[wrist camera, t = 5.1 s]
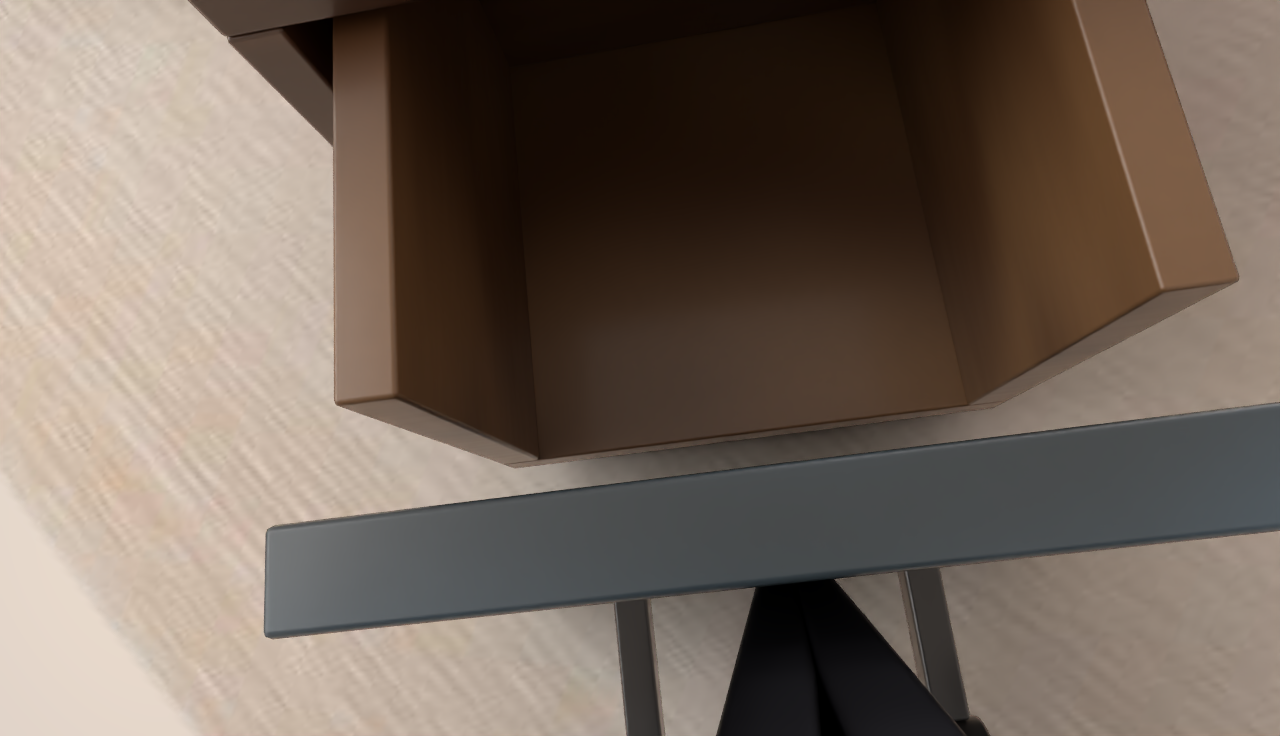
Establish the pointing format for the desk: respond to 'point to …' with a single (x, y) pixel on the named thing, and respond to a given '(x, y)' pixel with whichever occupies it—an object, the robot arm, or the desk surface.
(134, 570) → the desk surface
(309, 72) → the cabinet
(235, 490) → the desk surface
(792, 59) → the drawer
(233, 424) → the desk surface
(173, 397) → the desk surface
